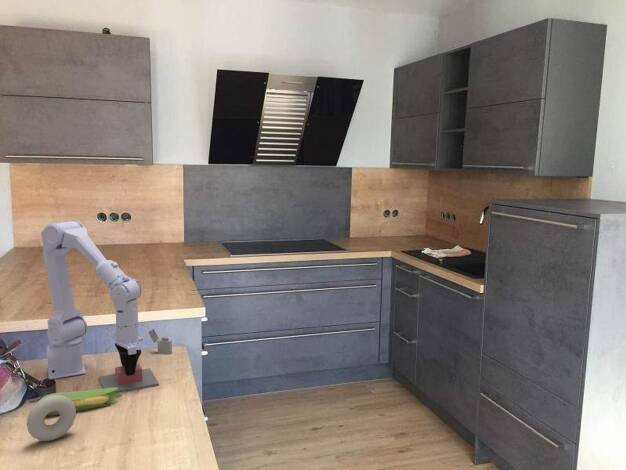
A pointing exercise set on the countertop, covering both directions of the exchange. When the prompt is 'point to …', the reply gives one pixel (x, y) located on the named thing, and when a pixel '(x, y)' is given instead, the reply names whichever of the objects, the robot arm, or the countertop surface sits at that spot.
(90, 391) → the edible corn
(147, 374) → the mat
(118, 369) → the pink rectangular block
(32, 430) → the donut
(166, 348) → the lighter
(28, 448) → the countertop surface
